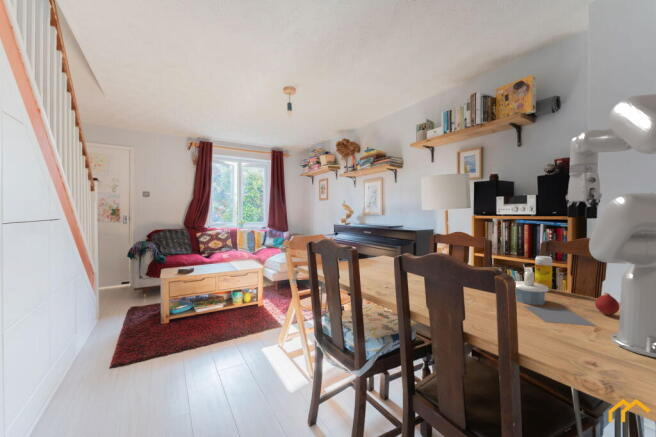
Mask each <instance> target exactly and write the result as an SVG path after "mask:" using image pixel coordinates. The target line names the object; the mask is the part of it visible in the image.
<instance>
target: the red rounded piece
mask: <svg viewBox="0 0 656 437" xmlns="http://www.w3.org/2000/svg"><path fill="white" fill-rule="evenodd" d="M594 304H595V308H596V309H597V310H598V311H599V312H600V313H601V314H603V315H604V316H612V315H615V314H617V313H618V311H620V303H619V302H618V300H617V299H616V298H615V297H613V296H612V295H611V294H610V293H608V292H604V293H603V295H600V296H599V297H597V298H596V300H595V303H594Z"/></svg>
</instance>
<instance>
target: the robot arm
mask: <svg viewBox="0 0 656 437" xmlns="http://www.w3.org/2000/svg"><path fill="white" fill-rule="evenodd" d="M608 124H609V127H610V128H600V129H589V130H588V129H587V130H585V131H582V132H581V133H579V134H578V136H574V137H573V138H572V139H571V140H570V143H569V144H570V146H569V148H570V151H569V180H568V188H567V194H566V195H565V200H566V202H565V203H566V206H567V218H570V219H571V218H579V204H580V202H581V203H585V205H586V206H585V212H584V214H585V216H584V218H585V219H588V220H589V219H597V218H598V207H600V206H599V205H600V202H601V198H602V196H603V193H602V192H601V182H600V180H601V179H600V175H599V173H598V172H599V170H598V168H599V153H618V152H619V153H620V152H625V151H630V150H635V151H636V152H639V153H640V154H645V155H656V93H652V94H641V95H632V96H628V97H625V98H623V99H622V100H620V101H619V102H617V103H616V104H615V105H614V106H613V107H612V109H611V110H610V112H609V116H608ZM588 241H589V242H588V249H589V253H590V255H591V257H593V258H594V259H595V260H596V261H599V262H602V263H607V264H622V265H623V264H624V265H625V264H626V265H629V266H628V268H626V270H625V271H624V273H623V275H622V276H621V277H622V278H621V282H620V283H621V284H620V301H619V302H620V303H619V323H618V324H619V325H618V326H619V327H618V328H619V330H618V332H615V333H612V334H611V335H610V340H611V341H612V342H613V343H614V344H616V345H618V346H619V347H620V348H623V349H625V350H628V351H630V352H633V353H637V354H640V355H644V356H645V357H647V356H648V357H651V358H656V190H655V191H653V192H634V193H624V194H620V195H617V196H616V197H614V198H612V200H610V201H609V202H608V203H607V205H606V207H605V209H604V210H603V212H602V214H601V215H600V218H599V219H598V222H597V223H596V225H595V228H593V231H592V234H591V235H590V238H589V240H588Z"/></svg>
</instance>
